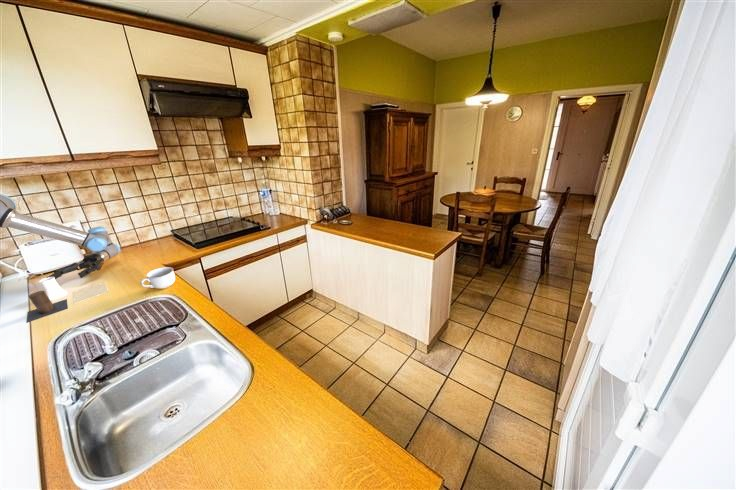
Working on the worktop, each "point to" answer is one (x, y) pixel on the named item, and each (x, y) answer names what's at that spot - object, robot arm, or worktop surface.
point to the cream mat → (89, 292)
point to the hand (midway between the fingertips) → (64, 277)
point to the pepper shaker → (41, 302)
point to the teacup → (160, 278)
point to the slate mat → (36, 315)
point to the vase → (52, 288)
